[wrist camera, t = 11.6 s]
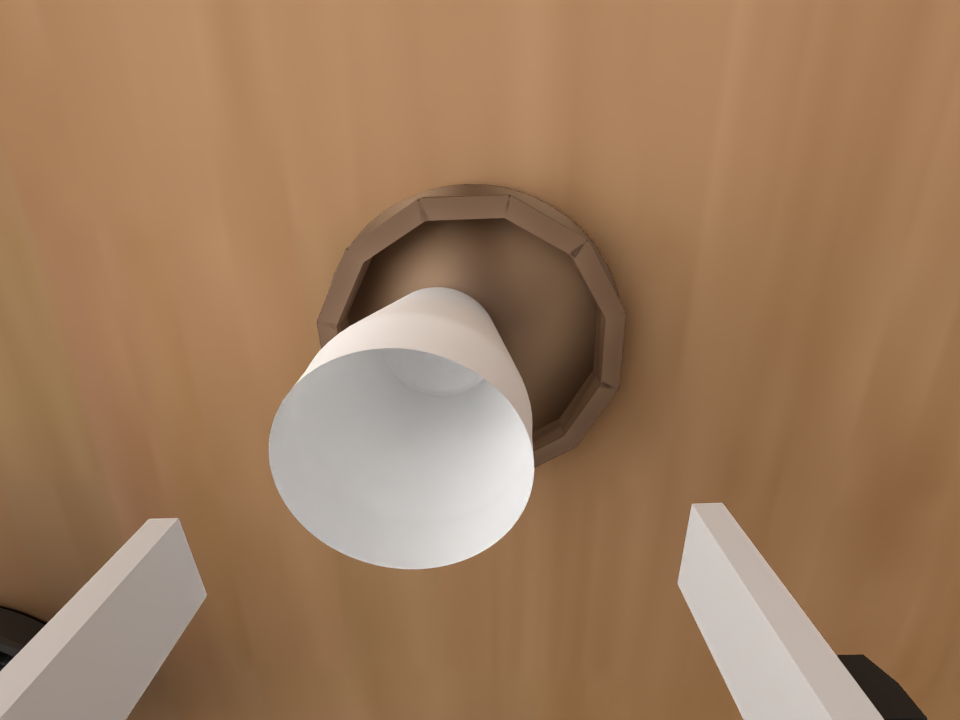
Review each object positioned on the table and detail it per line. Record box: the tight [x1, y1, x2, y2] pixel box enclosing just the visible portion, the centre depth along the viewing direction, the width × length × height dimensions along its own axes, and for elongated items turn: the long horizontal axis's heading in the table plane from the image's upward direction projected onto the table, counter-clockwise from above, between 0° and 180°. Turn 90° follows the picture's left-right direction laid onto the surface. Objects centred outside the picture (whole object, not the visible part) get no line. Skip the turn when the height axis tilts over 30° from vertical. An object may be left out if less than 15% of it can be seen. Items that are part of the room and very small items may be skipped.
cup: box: [269, 287, 534, 569], centre depth 20 cm, size 9×9×12 cm
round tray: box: [317, 184, 626, 467], centre depth 25 cm, size 17×17×3 cm
